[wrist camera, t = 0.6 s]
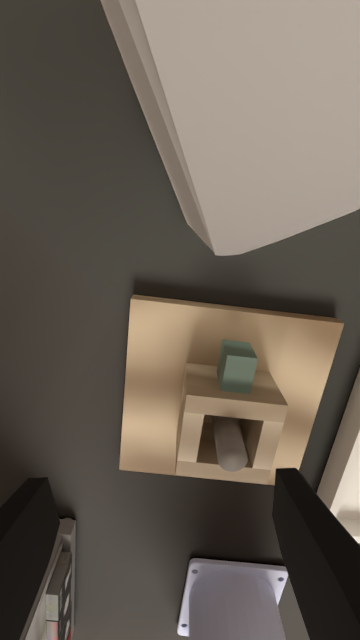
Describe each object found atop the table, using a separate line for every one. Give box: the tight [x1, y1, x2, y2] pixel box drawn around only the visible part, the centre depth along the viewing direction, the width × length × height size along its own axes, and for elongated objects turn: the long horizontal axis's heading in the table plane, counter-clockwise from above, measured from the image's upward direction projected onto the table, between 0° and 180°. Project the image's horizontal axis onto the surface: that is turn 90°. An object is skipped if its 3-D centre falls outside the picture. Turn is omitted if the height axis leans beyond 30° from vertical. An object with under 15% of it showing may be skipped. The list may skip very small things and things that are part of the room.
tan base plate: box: [119, 294, 344, 485], centre depth 17 cm, size 12×12×6 cm
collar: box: [175, 339, 288, 484], centre depth 17 cm, size 7×5×3 cm
